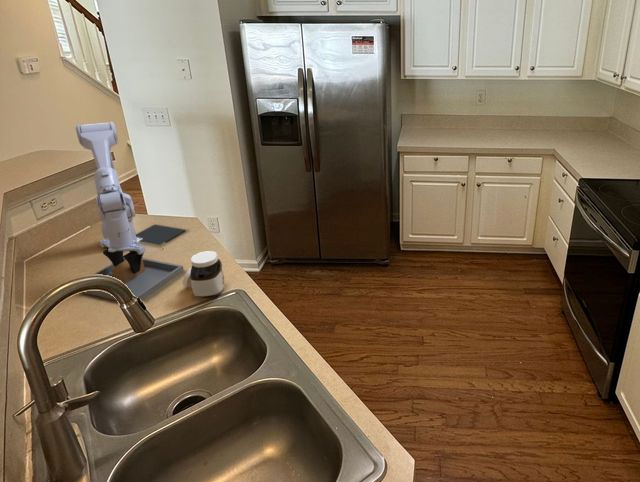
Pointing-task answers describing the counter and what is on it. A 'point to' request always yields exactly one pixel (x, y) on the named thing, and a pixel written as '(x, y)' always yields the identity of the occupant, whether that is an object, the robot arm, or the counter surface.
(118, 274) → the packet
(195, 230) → the counter surface
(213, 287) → the spread jar
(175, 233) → the mat
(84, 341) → the counter surface
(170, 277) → the tray
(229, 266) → the counter surface
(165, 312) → the counter surface
